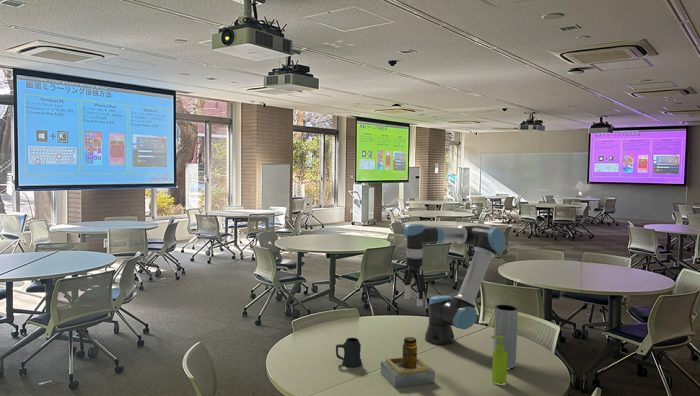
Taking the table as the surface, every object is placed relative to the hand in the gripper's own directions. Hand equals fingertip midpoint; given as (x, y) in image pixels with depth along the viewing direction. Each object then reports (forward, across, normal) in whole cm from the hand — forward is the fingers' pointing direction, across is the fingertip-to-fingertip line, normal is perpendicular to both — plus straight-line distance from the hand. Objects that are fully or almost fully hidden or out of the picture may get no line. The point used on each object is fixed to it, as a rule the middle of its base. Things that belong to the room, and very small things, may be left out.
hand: (413, 302), depth 247 cm
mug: (+27, -1, -31) cm, 41 cm away
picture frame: (+27, +19, -12) cm, 35 cm away
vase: (+27, +20, +37) cm, 50 cm away
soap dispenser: (+27, +36, +23) cm, 50 cm away
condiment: (+22, +21, -12) cm, 33 cm away
